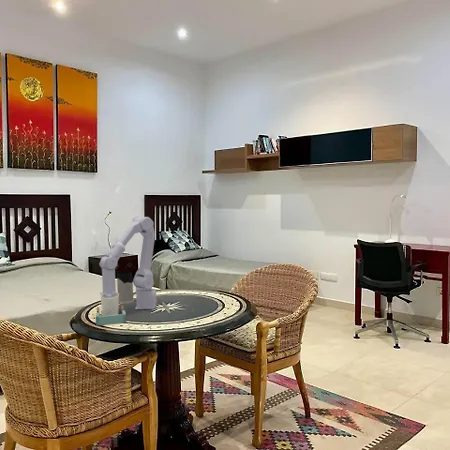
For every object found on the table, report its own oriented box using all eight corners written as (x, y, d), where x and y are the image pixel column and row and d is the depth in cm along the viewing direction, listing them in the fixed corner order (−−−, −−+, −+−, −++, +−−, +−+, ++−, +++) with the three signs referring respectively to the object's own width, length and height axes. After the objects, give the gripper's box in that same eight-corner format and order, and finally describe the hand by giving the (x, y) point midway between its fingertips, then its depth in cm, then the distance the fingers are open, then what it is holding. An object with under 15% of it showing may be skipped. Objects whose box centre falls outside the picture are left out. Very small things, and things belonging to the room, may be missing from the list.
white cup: (101, 320, 196) (100, 298, 194) (101, 312, 204) (100, 292, 202) (119, 318, 198) (119, 297, 196) (119, 311, 206) (118, 290, 203)
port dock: (125, 317, 198) (125, 310, 198) (126, 322, 190) (125, 314, 190) (96, 320, 195) (95, 312, 195) (96, 325, 187) (95, 317, 187)
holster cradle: (123, 311, 211) (123, 304, 211) (124, 315, 203) (124, 308, 203) (97, 313, 208) (96, 307, 208) (96, 317, 200) (96, 311, 200)
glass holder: (114, 301, 232) (113, 273, 231) (139, 297, 241) (138, 269, 240) (121, 304, 225) (120, 275, 224) (146, 300, 234) (145, 271, 233)
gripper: (100, 280, 210) (101, 309, 211) (99, 286, 196) (100, 316, 197) (115, 279, 212) (116, 308, 213) (116, 284, 198) (117, 315, 199)
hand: (109, 312), depth 205 cm, fingers closed, pressing on white cup
